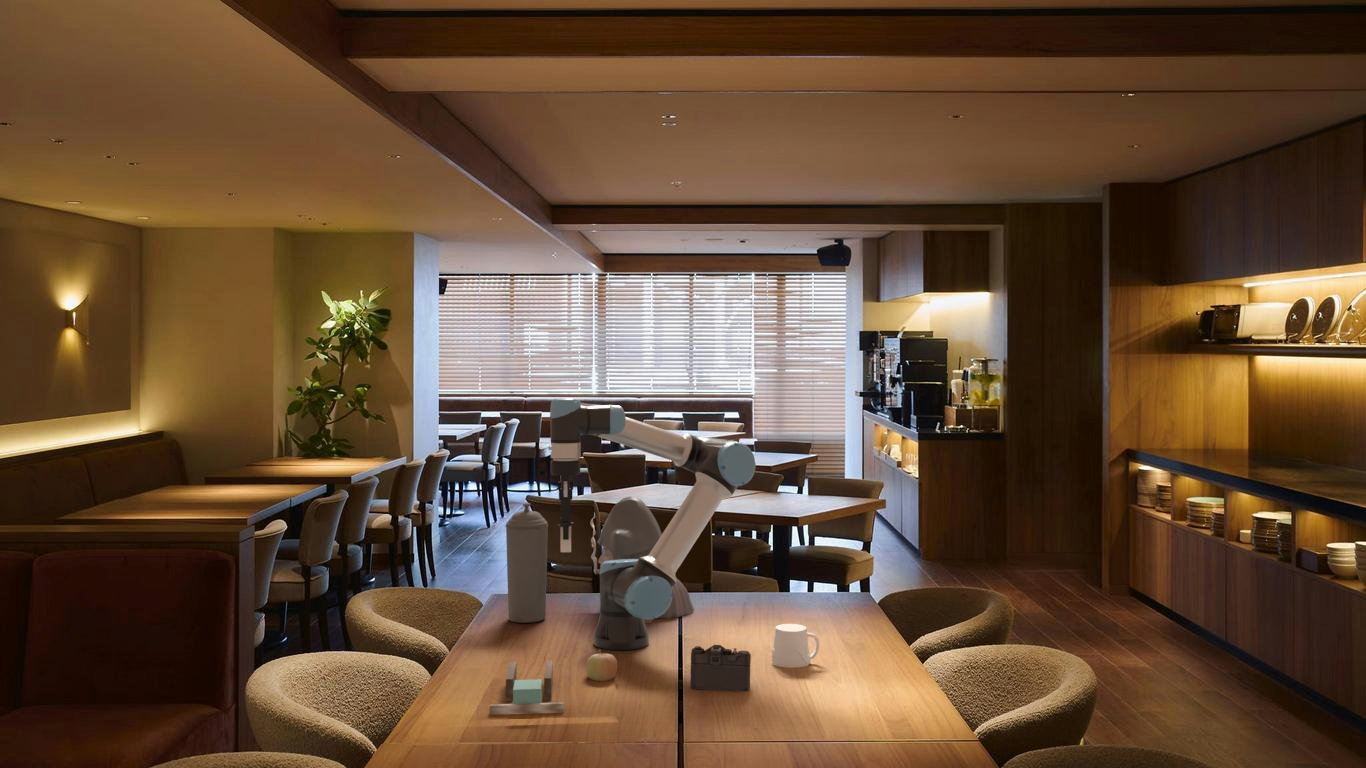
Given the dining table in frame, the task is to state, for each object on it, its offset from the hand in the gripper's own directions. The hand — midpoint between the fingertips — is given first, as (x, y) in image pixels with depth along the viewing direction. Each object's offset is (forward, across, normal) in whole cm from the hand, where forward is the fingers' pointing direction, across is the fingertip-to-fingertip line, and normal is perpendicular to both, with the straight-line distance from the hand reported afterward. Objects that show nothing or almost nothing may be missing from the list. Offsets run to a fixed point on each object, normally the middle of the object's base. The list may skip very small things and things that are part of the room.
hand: (565, 551), depth 273 cm
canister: (+30, -49, -12) cm, 59 cm away
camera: (+30, +19, +37) cm, 51 cm away
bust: (+30, -58, +22) cm, 69 cm away
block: (+28, +34, -8) cm, 45 cm away
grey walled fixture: (+29, +27, -8) cm, 41 cm away
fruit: (+30, +14, +9) cm, 34 cm away
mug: (+30, +3, +59) cm, 66 cm away
